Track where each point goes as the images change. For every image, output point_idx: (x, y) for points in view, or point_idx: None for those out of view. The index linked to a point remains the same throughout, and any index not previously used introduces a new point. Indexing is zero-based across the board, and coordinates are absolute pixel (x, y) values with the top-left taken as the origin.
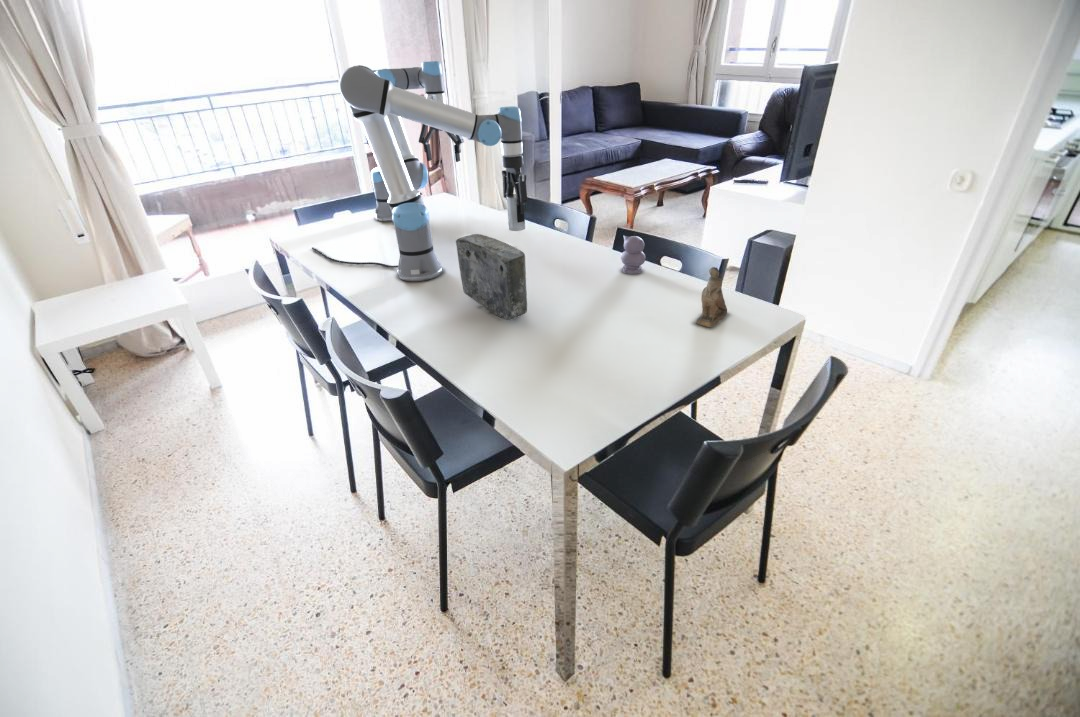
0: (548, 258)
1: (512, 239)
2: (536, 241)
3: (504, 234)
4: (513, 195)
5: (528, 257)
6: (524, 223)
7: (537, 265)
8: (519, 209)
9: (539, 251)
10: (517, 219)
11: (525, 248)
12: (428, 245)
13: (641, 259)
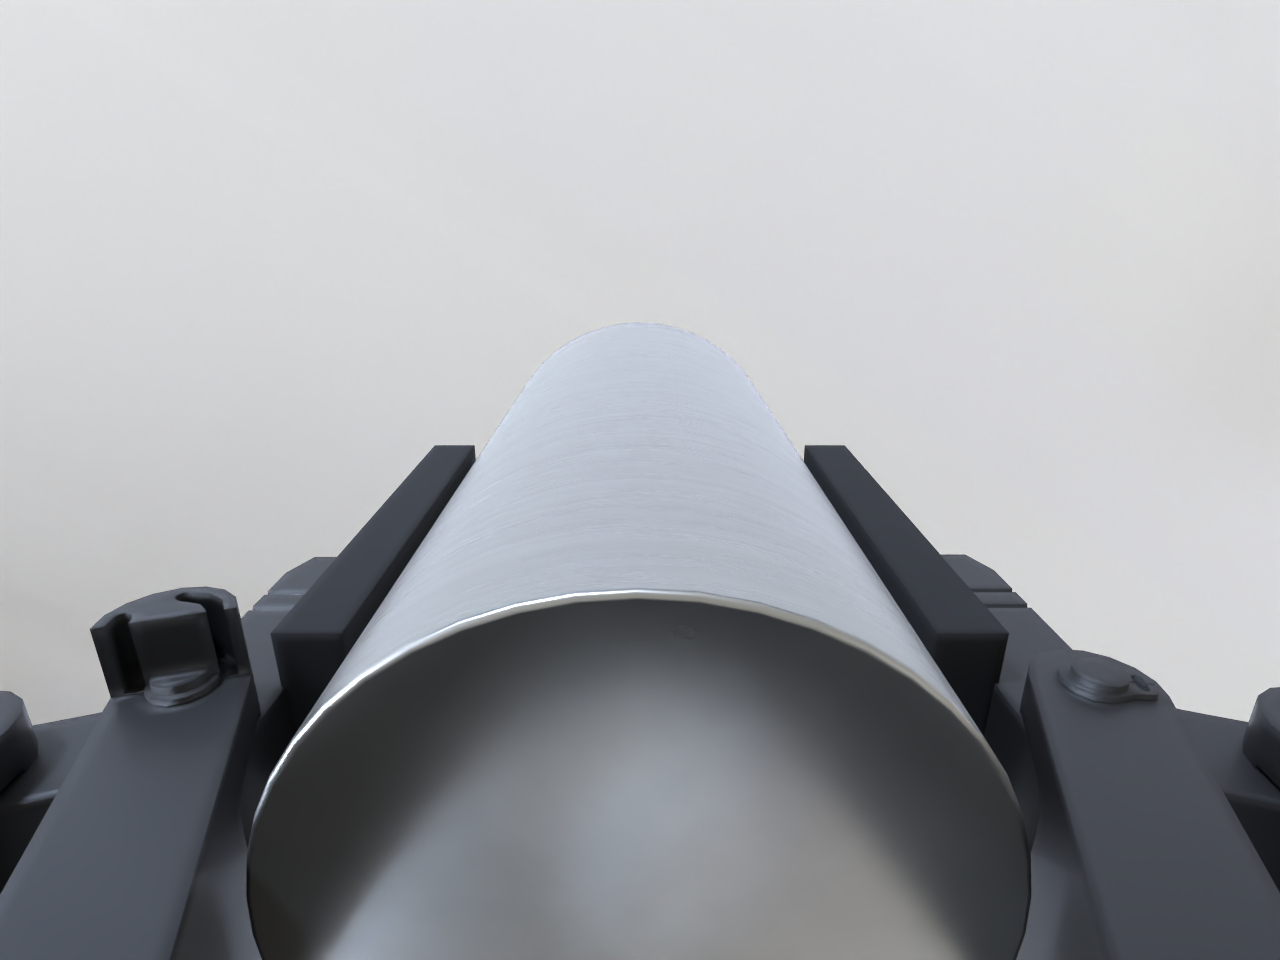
0: (1114, 267)
1: (267, 245)
2: (513, 18)
3: (16, 223)
4: (519, 944)
5: (924, 423)
6: (758, 394)
7: (1166, 470)
8: None
9: (860, 218)
10: None
11: (662, 296)
12: None
13: None
